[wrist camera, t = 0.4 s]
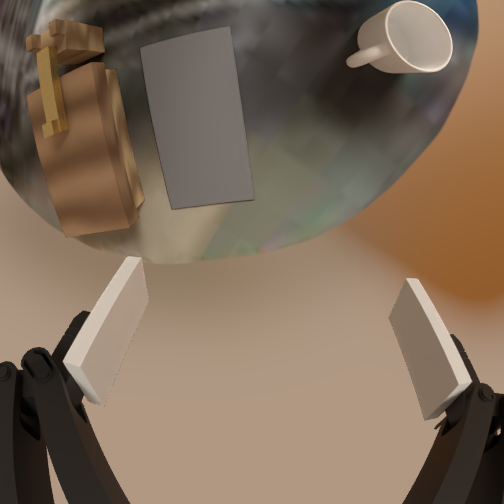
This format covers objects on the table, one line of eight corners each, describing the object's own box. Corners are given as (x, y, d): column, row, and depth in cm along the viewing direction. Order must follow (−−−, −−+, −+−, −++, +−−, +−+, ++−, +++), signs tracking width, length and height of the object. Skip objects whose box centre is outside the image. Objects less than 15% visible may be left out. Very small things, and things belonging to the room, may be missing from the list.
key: (44, 53, 21) (30, 53, 19) (55, 46, 21) (41, 45, 18) (57, 133, 26) (43, 138, 24) (68, 128, 26) (55, 133, 24)
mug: (353, 93, 32) (382, 96, 23) (319, 40, 28) (338, 23, 20) (421, 62, 28) (463, 60, 19) (391, 11, 24) (427, -7, 16)
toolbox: (67, 44, 28) (18, 43, 18) (111, 24, 27) (65, 12, 17) (102, 207, 42) (64, 242, 32) (144, 199, 41) (111, 235, 31)
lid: (45, 92, 27) (26, 96, 24) (108, 62, 26) (91, 62, 23) (80, 224, 38) (66, 237, 34) (141, 214, 37) (130, 227, 33)
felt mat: (140, 48, 29) (139, 47, 29) (230, 26, 28) (229, 26, 28) (172, 208, 41) (171, 209, 41) (254, 198, 40) (254, 199, 40)
